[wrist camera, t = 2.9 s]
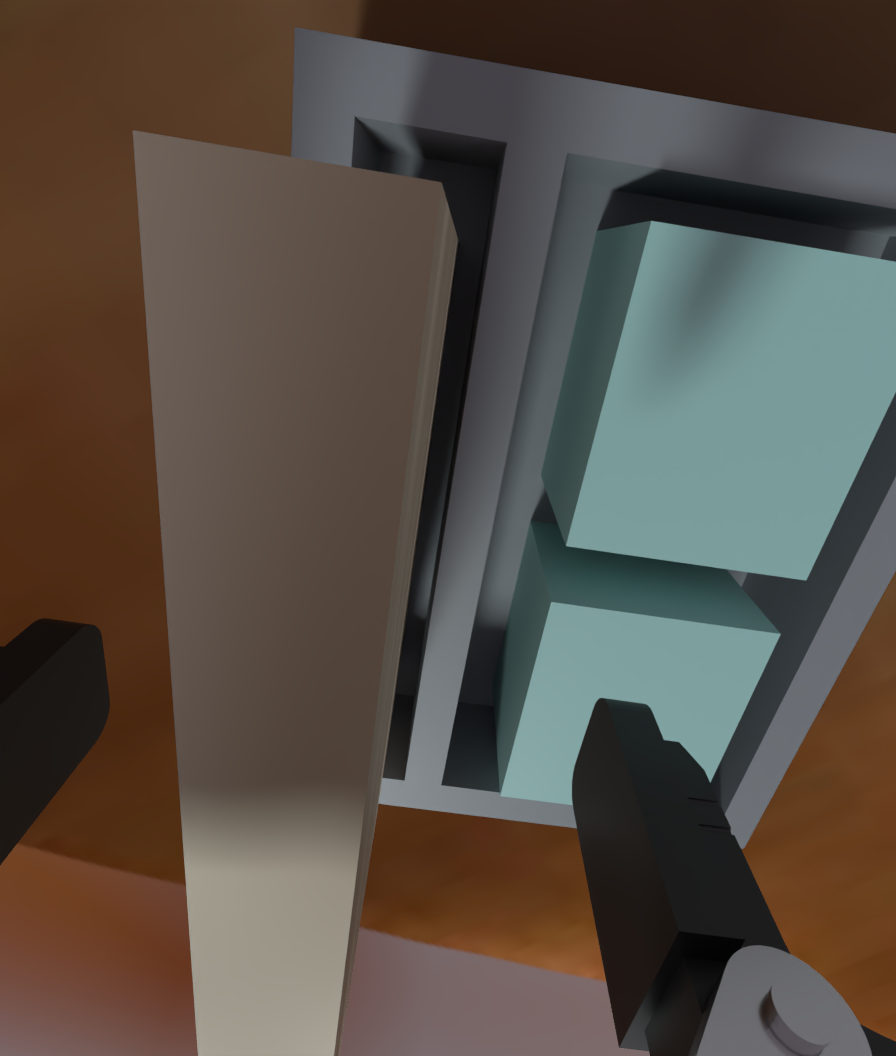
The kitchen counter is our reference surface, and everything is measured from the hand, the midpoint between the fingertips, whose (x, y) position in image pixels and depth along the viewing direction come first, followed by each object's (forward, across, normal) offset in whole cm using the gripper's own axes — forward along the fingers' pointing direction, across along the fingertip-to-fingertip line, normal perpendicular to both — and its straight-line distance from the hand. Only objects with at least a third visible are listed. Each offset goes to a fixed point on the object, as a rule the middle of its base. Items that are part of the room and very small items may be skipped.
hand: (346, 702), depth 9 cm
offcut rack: (+11, -5, 0) cm, 12 cm away
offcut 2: (+10, -7, +4) cm, 13 cm away
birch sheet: (+10, 0, 0) cm, 10 cm away
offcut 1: (+10, -7, -4) cm, 13 cm away
